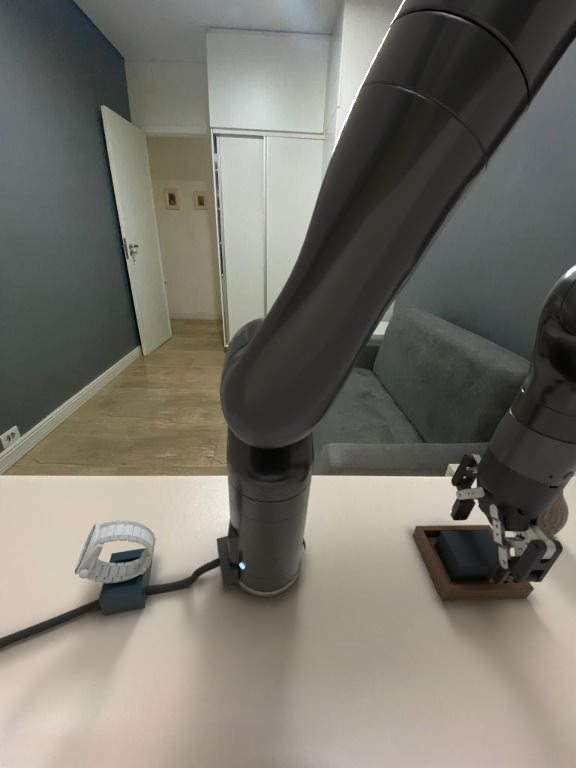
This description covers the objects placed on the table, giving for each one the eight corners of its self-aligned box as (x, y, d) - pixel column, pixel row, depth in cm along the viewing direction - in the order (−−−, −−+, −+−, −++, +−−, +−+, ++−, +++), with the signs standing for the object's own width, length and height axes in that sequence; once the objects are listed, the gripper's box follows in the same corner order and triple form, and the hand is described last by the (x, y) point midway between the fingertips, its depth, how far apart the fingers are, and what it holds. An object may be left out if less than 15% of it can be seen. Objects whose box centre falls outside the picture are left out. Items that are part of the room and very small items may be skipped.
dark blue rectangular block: (451, 581, 41) (460, 566, 39) (433, 545, 45) (441, 530, 43) (501, 580, 41) (512, 565, 39) (479, 545, 45) (488, 530, 44)
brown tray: (441, 600, 39) (446, 591, 38) (412, 534, 47) (416, 525, 46) (527, 597, 40) (534, 588, 39) (484, 533, 48) (489, 524, 47)
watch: (100, 570, 40) (76, 514, 34) (166, 559, 41) (153, 504, 36) (85, 619, 35) (55, 563, 30) (160, 604, 37) (144, 549, 31)
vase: (563, 549, 46) (595, 510, 42) (513, 539, 47) (539, 500, 43) (540, 511, 52) (566, 473, 48) (496, 503, 53) (517, 465, 49)
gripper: (461, 415, 39) (424, 502, 47) (549, 511, 27) (479, 606, 35) (516, 417, 40) (471, 502, 48) (627, 511, 27) (541, 605, 35)
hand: (474, 546), depth 41 cm, fingers open, 8 cm apart
